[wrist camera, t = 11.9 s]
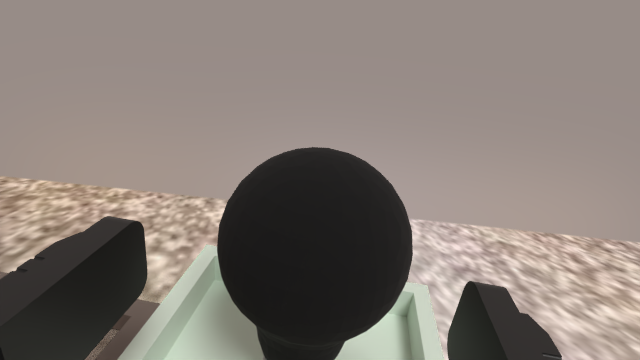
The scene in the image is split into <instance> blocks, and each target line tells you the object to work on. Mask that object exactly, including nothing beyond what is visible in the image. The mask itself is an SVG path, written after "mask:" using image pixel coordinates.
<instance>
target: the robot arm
mask: <svg viewBox="0 0 640 360" xmlns="http://www.w3.org/2000/svg"><path fill="white" fill-rule="evenodd" d="M146 280H147V260H146V248H145V236H144V228H143V225H142V224H141V223H140V222H139V221H133V220H128V219H122V218H116V217H111V216H107V217H104V218H103V219H101V220H100V221H98V222H97V223H95V224H94V225H92V226H91V227H90V228H88V229H87V230H85V231H84V232H80V233H78V234H75V235H73V236H70V237H67V238H65V239H62V240H60V241H57V242H55V243H54V244H52V245H51V246H49V247H48V248H46V249H45V250H43V251H42V252H40V253H39V254H37V255H36V256H35V258H34V259H30V260H28V261H27V262H25V263H24V264H22V265H21V266H19V267H18V268H17V270H16V271H12V272H10V273H9V274H7V275H6V276H4V277H3V278H1V279H0V360H84V359H85V358H86V357H87V356H88V355H89V354H90V352H91V351H92V350H93V349H94V348H95V347H96V346H97V344H98V343H99V342H100V341H101V340H102V339H103V338H104V336H105V335H106V334H107V333H108V332H109V331H110V329H111V328H112V327H113V326H114V325H115V324H116V323H117V321H118V320H119V319H120V318H121V317H122V316H123V315H124V313H125V312H126V311H127V310H128V309H129V308H130V307H131V305H132V304H133V303H134V302H135V301H136V300H137V298H138V297H139V296H140V294H141V293H142V291H143V289H144V286H145V284H146ZM447 350H448V358H449V360H562V358H561V357H562V356H561V354H560V352H559V351H558V349H557V347H556V346H555V344H554V343H553V341H552V339H551V338H550V336H549V334H548V333H547V332H546V331H545V330H544V329H543V328H542V327H541V326H539V325H538V324H537V323H536V322H535V321H534V320H533V319H532V318H531V317H530V316H529V315H528V314H524V313H520V312H519V310H518V309H517V307H516V305H515V303H514V301H513V299H512V298H511V296H510V294H509V292H508V291H507V289H506V288H504V287H501V286H495V285H489V284H484V283H478V282H473V281H469V282H468V283H467V284H466V286H465V288H464V290H463V293H462V296H461V298H460V301H459V304H458V307H457V310H456V312H455V315H454V318H453V321H452V324H451V326H450V329H449V333H448V342H447Z"/></svg>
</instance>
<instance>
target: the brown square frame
mask: <svg viewBox="0 0 640 360" xmlns="http://www.w3.org/2000/svg"><path fill="white" fill-rule="evenodd" d="M7 274H9V273H4V272H0V279H1V278H3V277H4V276H6V275H7ZM159 305H160V304H159V303H154V302H149V301H144V300H139V299H137V300H136V301H135V302H134V303H133V304H132V305H131V307H130V308H129V309H128V310H127V311H126V312H125V313H124V315H123V316H122V317H121V318H120V319H119V320H118V321H117V323H116V324H115V325H114V326H113V327H112V328H113V329H117V330H119V332H118V333H117V334H116V335H115V336H114V338H113V339H112V340H111V341H110V342H109V343H108V345H107V346H106V347H105V348H104V349H103V351H102V352H101V353H100V354H99V355H98V356H97V358H96V359H95V360H117V359H118V358H119V357H120V355H121V354H122V353H123V352H124V350H125V349H126V348H127V346H128V345H129V344H130V343H131V341H132V340H133V339H134V337H135V336H136V335H137V334H138V332H139V331H140V330H141V328H142V327H143V326H144V325H145V323H146V322H147V321H148V319H149V318H150V317H151V316H152V314H153V313H154V312H155V310H156V309H157V308H158V307H159Z"/></svg>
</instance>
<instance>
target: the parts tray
mask: <svg viewBox="0 0 640 360" xmlns="http://www.w3.org/2000/svg"><path fill="white" fill-rule="evenodd" d="M117 360H263V353H262V349H261V346H260V343H259V340H258V335H257V328H256V326H255V325H254V324H253V323H252V322H251V321H250V320H249V319H248V318H247V317H246V316H244V315H243V314H242V313H241V312H240V310H239V309H238V308H237V306H236V305H235V304H234V302H233V301H232V299H231V297H230V295H229V293H228V291H227V289H226V287H225V285H224V283H223V280H222V277H221V273H220V267H219V261H218V255H217V246H212V245H206V246H205V247H204V249H203V250H202V251H201V252H200V254H199V255H198V256H197V258H196V259H195V260H194V261H193V263H192V264H191V265H190V267H189V268H188V269H187V270H186V272H185V273H184V274H183V276H182V277H181V278H180V279H179V281H178V282H177V283H176V285H175V286H174V287H173V288H172V290H171V291H170V292H169V294H168V295H167V296H166V297H165V299H164V300H163V301H162V303H161V304H160V305H159V307H158V308H157V309H156V310H155V312H154V313H153V314H152V316H151V317H150V318H149V319H148V321H147V322H146V323H145V325H144V326H143V327H142V328H141V330H140V331H139V332H138V334H137V335H136V336H135V337H134V339H133V340H132V341H131V343H130V344H129V345H128V346H127V348H126V349H125V350H124V352H123V353H122V354H121V355H120V357H119V358H118V359H117ZM335 360H444V356H443V352H442V347H441V343H440V339H439V334H438V330H437V325H436V321H435V317H434V312H433V308H432V304H431V299H430V295H429V290H428V286H427V285H422V284H416V283H411V282H406V284H405V286H404V288H403V290H402V292H401V294H400V296H399V298H398V300H397V301H396V303H395V304H394V306H393V307H392V309H391V310H390V311H389V312H388V313H387V314H386V315H385V316H384V317H383V318H382V319H381V320H380V321H379V322H378V323H377V324H376V325H374V326H373V327H372V328H370V329H369V330H367V331H366V332H364V333H362V334H360V335H358V336H356V337H354V338H352V339H349V340H347V341H345V343H344V345H343V347H342V349H341V351H340V352H339V354H338V356H337V357H336V358H335Z"/></svg>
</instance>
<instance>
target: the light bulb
mask: <svg viewBox="0 0 640 360" xmlns="http://www.w3.org/2000/svg"><path fill="white" fill-rule="evenodd" d="M217 255H218V261H219V267H220V273H221V277H222V280H223V283H224V285H225V287H226V289H227V291H228V293H229V295H230V297H231V299H232V301H233V302H234V304H235V305H236V306H237V308H238V309H239V310H240V312H241V313H242V314H243V315H244V316H246V317H247V318H248V319H249V320H250V321H251V322H252V323H253V324H254V325H255V326H256V328H257V335H258V340H259V343H260V346H261V349H262V353H263V360H335V358H336V357H337V356H338V354H339V352H340V351H341V349H342V347H343V345H344V343H345V341H347V340H349V339H352V338H354V337H356V336H358V335H360V334H362V333H364V332H366V331H367V330H369V329H370V328H372V327H373V326H374V325H376V324H377V323H378V322H379V321H380V320H381V319H382V318H383V317H384V316H385V315H386V314H387V313H388V312H389V311H390V310H391V309H392V307H393V306H394V304H395V303H396V301H397V300H398V298H399V296H400V294H401V292H402V290H403V288H404V286H405V284H406V282H407V279H408V275H409V270H410V266H411V261H412V255H413V252H412V230H411V226H410V223H409V219H408V216H407V212H406V209H405V207H404V204H403V202H402V201H401V199H400V198H399V196H398V194H397V193H396V191H395V189H394V188H393V186H392V184H391V183H389V181H388V180H386V178H385V177H384V176H383V175H382V174H381V173H380V172H379V171H377V170H376V169H375V168H374V167H372V166H371V165H370V164H368V163H367V162H366V161H364V160H362V159H360V158H358V157H356V156H354V155H351V154H349V153H346V152H342V151H338V150H334V149H330V148H315V147H312V148H301V149H295V150H291V151H287V152H284V153H282V154H279V155H277V156H274V157H272V158H270V159H268V160H267V161H265V162H264V163H262V164H261V165H259V166H257V167H256V168H255V169H254V170H253V171H252V172H251V173H250V174H249V175H248V176H247V177H245V178H244V179H243V180H242V181H241V183H240V184H239V185H238V187H237V188H236V190H235V191H234V193H233V194H232V196H231V198H230V199H229V200H228V202H227V205H226V208H225V210H224V213H223V216H222V219H221V222H220V224H219V233H218V244H217Z"/></svg>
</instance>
